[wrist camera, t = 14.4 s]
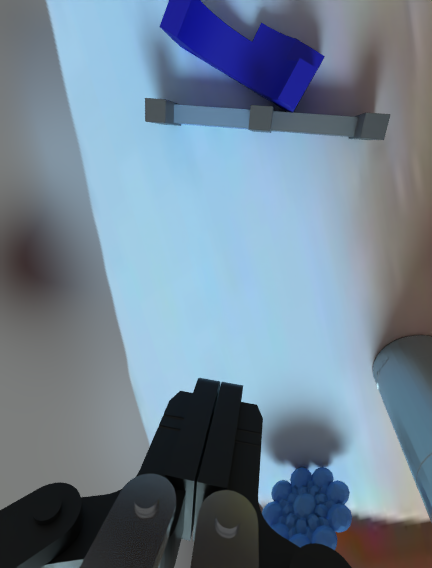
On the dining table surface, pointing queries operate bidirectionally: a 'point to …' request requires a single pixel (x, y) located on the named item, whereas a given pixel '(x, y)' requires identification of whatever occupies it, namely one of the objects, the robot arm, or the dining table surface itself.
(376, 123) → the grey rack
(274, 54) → the blue curved block
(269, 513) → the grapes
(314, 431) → the dining table surface
